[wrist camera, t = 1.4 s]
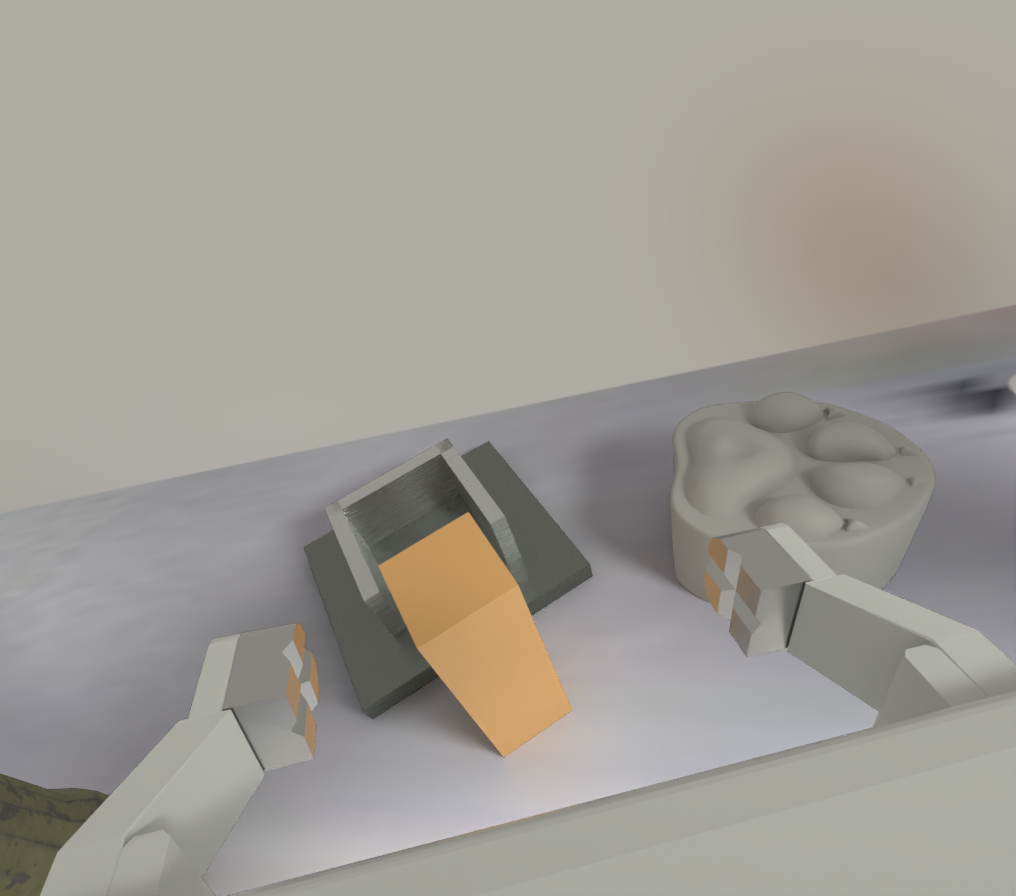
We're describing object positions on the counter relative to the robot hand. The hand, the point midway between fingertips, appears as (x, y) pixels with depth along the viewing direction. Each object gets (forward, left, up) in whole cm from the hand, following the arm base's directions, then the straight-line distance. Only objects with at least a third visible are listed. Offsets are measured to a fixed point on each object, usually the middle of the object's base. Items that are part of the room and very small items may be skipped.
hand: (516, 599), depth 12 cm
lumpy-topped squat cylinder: (-18, -8, -24) cm, 31 cm away
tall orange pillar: (+1, -9, -24) cm, 25 cm away
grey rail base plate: (+1, -20, -24) cm, 31 cm away
